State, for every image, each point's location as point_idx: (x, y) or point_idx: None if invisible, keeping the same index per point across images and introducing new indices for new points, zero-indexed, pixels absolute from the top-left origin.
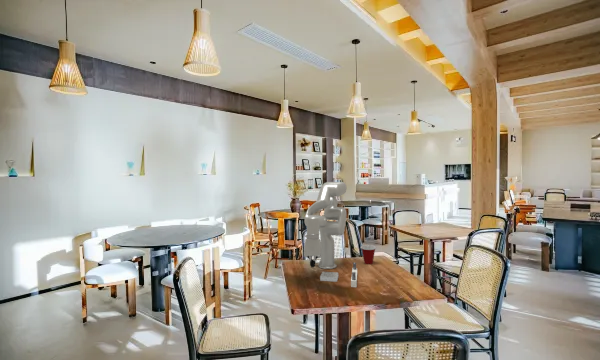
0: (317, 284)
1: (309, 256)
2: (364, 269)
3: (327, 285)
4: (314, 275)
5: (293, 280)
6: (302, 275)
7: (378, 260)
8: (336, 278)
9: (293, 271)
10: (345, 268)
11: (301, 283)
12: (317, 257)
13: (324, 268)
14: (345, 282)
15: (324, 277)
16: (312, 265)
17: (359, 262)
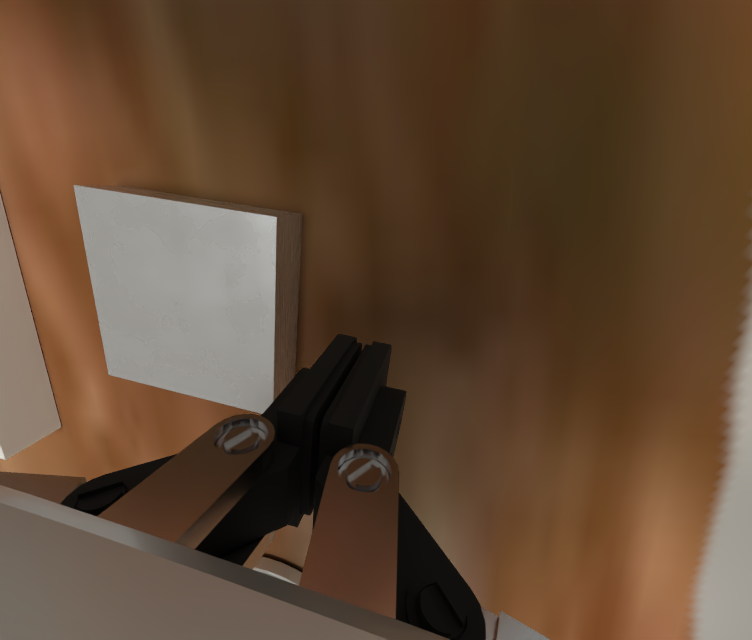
0: (324, 32)
1: (372, 609)
2: None
3: (194, 5)
4: None
5: (694, 202)
6: (522, 413)
7: None
8: (92, 185)
9: (624, 555)
10: None
11: (573, 48)
12: (79, 493)
13: (290, 567)
14: (42, 164)
15: (226, 206)
16: (349, 356)
17: None
